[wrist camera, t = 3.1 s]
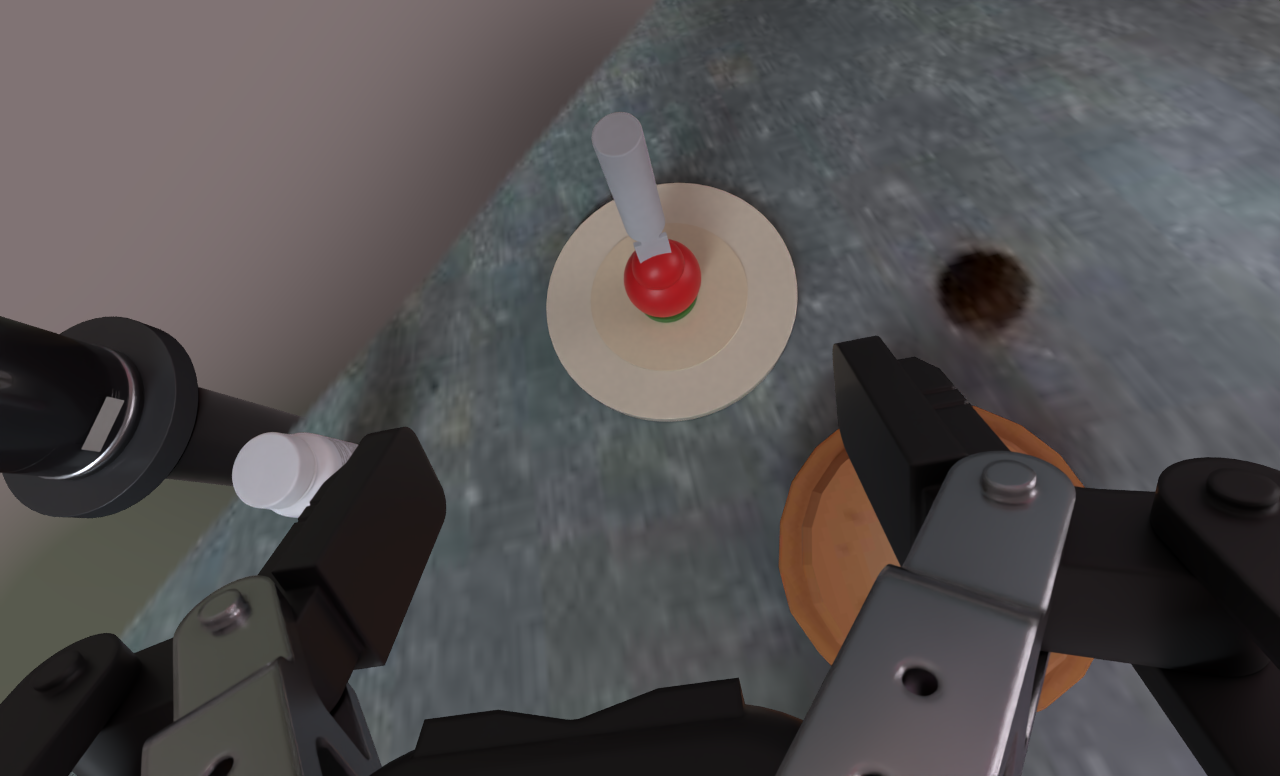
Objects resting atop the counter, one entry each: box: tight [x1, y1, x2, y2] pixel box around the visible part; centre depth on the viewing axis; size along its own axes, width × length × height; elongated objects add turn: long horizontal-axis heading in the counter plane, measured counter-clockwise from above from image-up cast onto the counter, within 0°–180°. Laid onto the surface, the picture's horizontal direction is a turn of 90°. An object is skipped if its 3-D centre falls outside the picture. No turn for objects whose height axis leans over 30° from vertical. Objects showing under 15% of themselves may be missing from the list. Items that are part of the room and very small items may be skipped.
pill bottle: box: [232, 432, 358, 518], centre depth 36 cm, size 5×5×8 cm
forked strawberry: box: [592, 112, 701, 323], centre depth 31 cm, size 5×5×16 cm
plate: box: [546, 183, 797, 422], centre depth 39 cm, size 16×16×1 cm
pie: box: [779, 406, 1094, 712], centre depth 31 cm, size 16×16×5 cm
